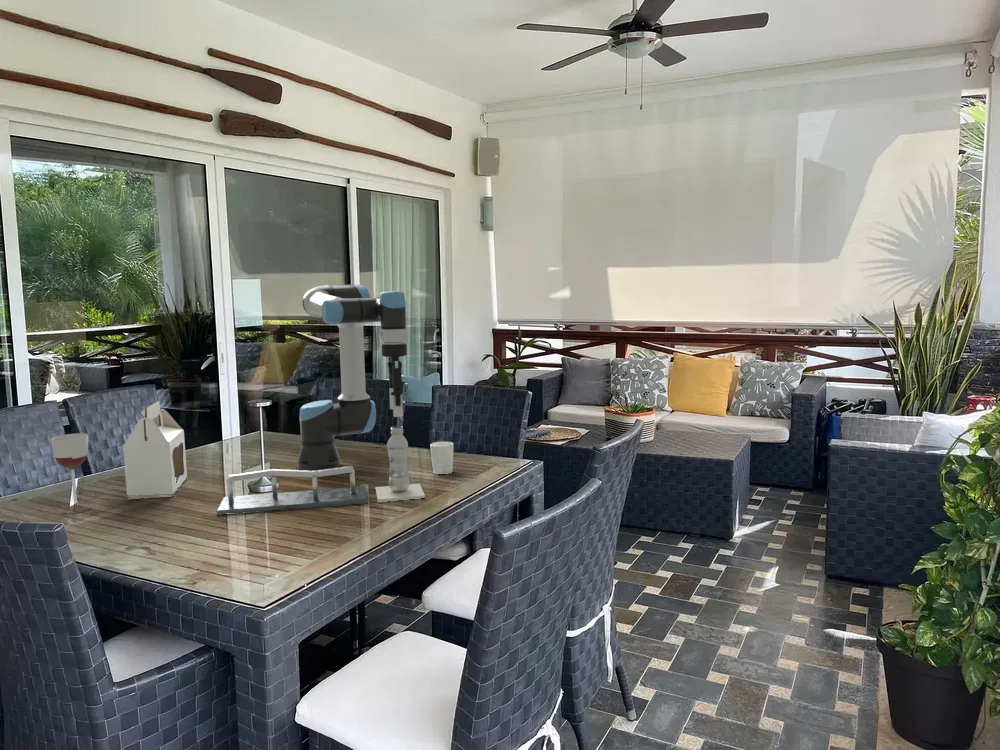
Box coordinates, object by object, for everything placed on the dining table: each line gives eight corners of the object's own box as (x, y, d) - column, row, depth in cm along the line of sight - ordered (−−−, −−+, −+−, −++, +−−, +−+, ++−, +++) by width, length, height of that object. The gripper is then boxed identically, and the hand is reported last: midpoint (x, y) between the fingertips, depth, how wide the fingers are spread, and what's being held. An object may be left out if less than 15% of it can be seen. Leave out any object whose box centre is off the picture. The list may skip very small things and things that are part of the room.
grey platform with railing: (224, 501, 222) (222, 469, 221) (365, 490, 231) (364, 459, 230) (217, 515, 208) (215, 481, 207) (367, 503, 217) (366, 470, 216)
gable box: (145, 482, 247) (139, 400, 244) (187, 479, 250) (181, 398, 246) (126, 501, 225) (119, 410, 222) (173, 497, 228) (166, 408, 225)
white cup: (455, 469, 256) (455, 441, 255) (451, 475, 248) (451, 446, 247) (433, 469, 257) (432, 441, 256) (429, 475, 249) (428, 446, 248)
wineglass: (101, 506, 220) (94, 434, 217) (73, 515, 211) (66, 440, 208) (79, 504, 223) (72, 432, 220) (50, 513, 214) (43, 439, 211)
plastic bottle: (414, 489, 228) (411, 425, 226) (402, 494, 222) (399, 429, 220) (396, 487, 231) (394, 424, 228) (384, 492, 225) (381, 428, 222)
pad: (375, 490, 232) (375, 487, 232) (419, 486, 235) (419, 483, 235) (377, 502, 218) (377, 499, 218) (425, 498, 221) (424, 495, 221)
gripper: (378, 340, 232) (381, 406, 235) (384, 346, 208) (386, 420, 211) (402, 339, 234) (404, 405, 237) (410, 346, 210) (412, 419, 212)
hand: (396, 412), depth 224 cm, fingers open, 13 cm apart
